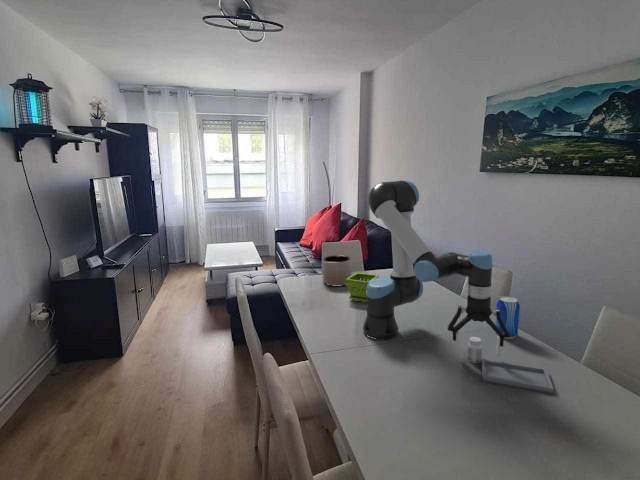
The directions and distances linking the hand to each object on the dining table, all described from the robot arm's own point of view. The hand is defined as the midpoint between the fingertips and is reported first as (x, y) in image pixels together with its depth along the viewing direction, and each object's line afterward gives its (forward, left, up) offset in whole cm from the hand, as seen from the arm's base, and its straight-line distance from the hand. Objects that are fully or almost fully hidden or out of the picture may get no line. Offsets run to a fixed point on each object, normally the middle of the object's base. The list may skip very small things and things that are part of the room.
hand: (477, 351), depth 130 cm
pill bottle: (-1, 0, -4) cm, 4 cm away
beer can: (+12, +25, -4) cm, 28 cm away
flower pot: (-56, +48, -4) cm, 74 cm away
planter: (-79, +71, -4) cm, 106 cm away
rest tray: (+12, -7, -4) cm, 14 cm away
